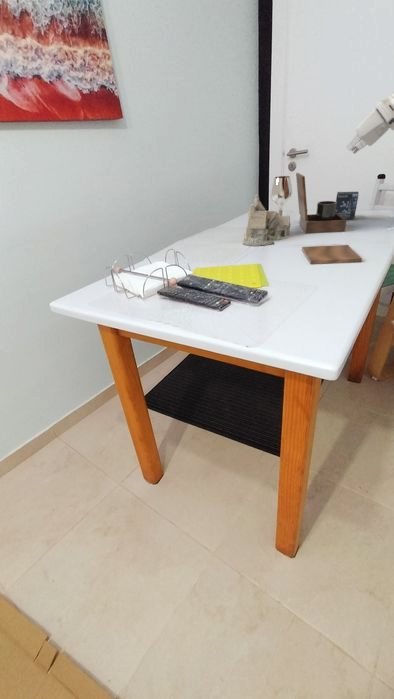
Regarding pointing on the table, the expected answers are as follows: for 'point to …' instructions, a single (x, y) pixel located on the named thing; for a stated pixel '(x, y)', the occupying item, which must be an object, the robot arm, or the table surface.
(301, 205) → the bread box lid
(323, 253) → the board
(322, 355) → the table surface
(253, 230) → the ceramic cottage
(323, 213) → the dark grey cup
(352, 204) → the box
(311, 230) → the bread box
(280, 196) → the wineglass
